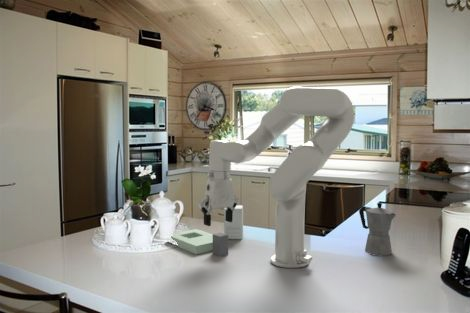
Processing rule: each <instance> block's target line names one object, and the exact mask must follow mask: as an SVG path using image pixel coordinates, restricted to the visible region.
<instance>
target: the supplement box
mask: <svg viewBox="0 0 470 313" xmlns="http://www.w3.org/2000/svg"><path fill="white" fill-rule="evenodd" d="M226 210H227V208H223V227H224V229H223V232H224V233H223V234H227V235H228V240H243V237H244V206H243V205H241V204H239V205H236V207H235V208H234V211H233V217H232V222H228V221H226V220H225V218H226Z"/></svg>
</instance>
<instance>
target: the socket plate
mask: <svg viewBox="0 0 470 313" xmlns="http://www.w3.org/2000/svg"><path fill="white" fill-rule="evenodd" d="M174 233H175V234H174V235H173V236H171V238H172V239H173V240H175V241H176V242H177V244H178V248H180V249H182V250H185V251H187V252H190V253H192V254H194V255H199V254H200V255H201V254H204V253H208V252H211V251H212V252H213V234H214V233H210V232H207V231H204V230H200V229H198V228H193V229H190V230H184V231H179V232H174ZM186 237H187V238H186Z"/></svg>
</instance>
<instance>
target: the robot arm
mask: <svg viewBox="0 0 470 313" xmlns="http://www.w3.org/2000/svg"><path fill="white" fill-rule="evenodd" d="M305 116H307V117H308V116H309V117H325V120H324V122H323V123H322V124H321V125H320V126H319V127H318V128H317V130H316V131H314V132H315V133H314V134H313V135H311V137H310V138H309V139H308V140H307V141H306V142H305V143H302V144H299V145H298V146H296V147H295V148H294V149H293V150H292V151H291V152H290V153H289V154H288V156H287V157H286V158H284V159H285V160H283V161H282V163H281V164H280V165H279V166H278V168H277V169H276V170H275V171H274V173H273V174H272V175H271V176H270V178H269V181H268V191H269V193H270V195H271V197H273V198H274V199H276V201H275V235H274V236H275V240H274V241H275V244H274V245H275V246H274V247H275V249H274V250H275V251H274V252H275V254H273V255H272V256H270V263H271V264H272V265H275V266H277V267H281V268H287V269H296V268H298V269H299V268H304V267H306V266H307V265H310V264H311V263H312V262H311V261H312V260H313V257H312V256H311V255H308V253H307V250H306V249H305V215H306V214H305V213H306V212H305V211H306V210H305V209H306V195H307V194H306V193H307V183H308V182H309V181H310V180H311V179H312V178H313V176H314V175H315V174H316V173H317V172H318V171H320V170H321V169H322V168H323V167H324V165H325V164H326V163H327V162H328V160H329V159H330V157H331V156H332V155H333V154H334V153H335V152H336V151H337V149H338V148H339V147H340V146H341V144H343V142H344V141H345V139H346V138H347V137H348V135H349V134H350V132H351V130H352V128H353V125H354V122H355V111H354V107H353V103H352V101H351V99H350V98H349V96H348V95H347V94H346V93H345V92H344V91H342V90H340V89H338V88H335V87H334V88H333V87H305V86H304V87H303V86H292V87H289V88H287V89H285V90H284V91H283V93H281V96H280V99H279V101H278V103H277V104H276V105H273V107H272V108H270V110H268V111H267V112H265V114H264V115H263V116H262V117H261V119H260V120H261V121H260V124H259V125H258V127H257V128H256V129H255V130H254V131H253V132H252V133H251V134H250V135H248V137H246V138H245V139H244V140H237V141H236V140H235V141H229V140H224V139H221V140H220V139H215V140H211V142H210V143H209V160H208V161H209V162H208V165H209V166H208V172H207V173H206V177H207V178H208V179H207V180H206V185H205V192H204V193H205V194H204V197H203V198H202V199H201V200H199V201H198V202H197V205H198V207H199V210H200V212H201V213H202V215H203V225H204V226H207V227H211V226H212V225H211V224H212V214H211V212H212V211H213V210H220V209H224V208H227V210H226V218H225V220H226V221H228V222H232V217H233V211H234V208H235V207H236V205H237V204H238V202H239V197H237V196H235V194H234V193H235V192H234V190H235V188H234V182H233V179H232V178H231V166H232V164H231V163H235V164H242V163H246V162H250V161H252V160H254V159H255V158H256V157H258V156H259V155H261V153H263V152H264V151H265V150H266V149H268V147H270V146H271V145H272V144H273V143H274V142H275V141H276V140H277V139H279V137H280V136H281V135H282V134H283V133H285V132H286V131H287V130H288V129H290V127H291V126H293V125H294V124H295V123H296V122H298V121H299V120H300V119H301V118H302V117H305Z"/></svg>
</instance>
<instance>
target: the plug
mask: <svg viewBox="0 0 470 313" xmlns="http://www.w3.org/2000/svg"><path fill="white" fill-rule="evenodd" d="M212 234H213V250H212V254H214V255H216V256H218V257H223V256H229V239H228V235H227V234H224V233H223V232H216V233H212Z"/></svg>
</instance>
